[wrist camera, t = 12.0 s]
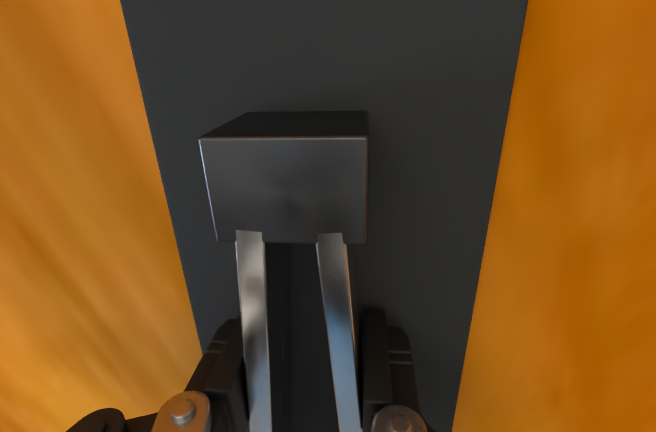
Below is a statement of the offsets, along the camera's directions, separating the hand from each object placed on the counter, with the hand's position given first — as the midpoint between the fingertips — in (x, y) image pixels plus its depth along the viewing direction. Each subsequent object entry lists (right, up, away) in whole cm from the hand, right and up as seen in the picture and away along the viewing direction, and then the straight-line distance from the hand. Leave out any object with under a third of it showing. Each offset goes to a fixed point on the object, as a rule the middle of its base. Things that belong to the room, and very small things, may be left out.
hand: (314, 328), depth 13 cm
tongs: (0, 0, +1) cm, 1 cm away
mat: (0, +1, +1) cm, 1 cm away
